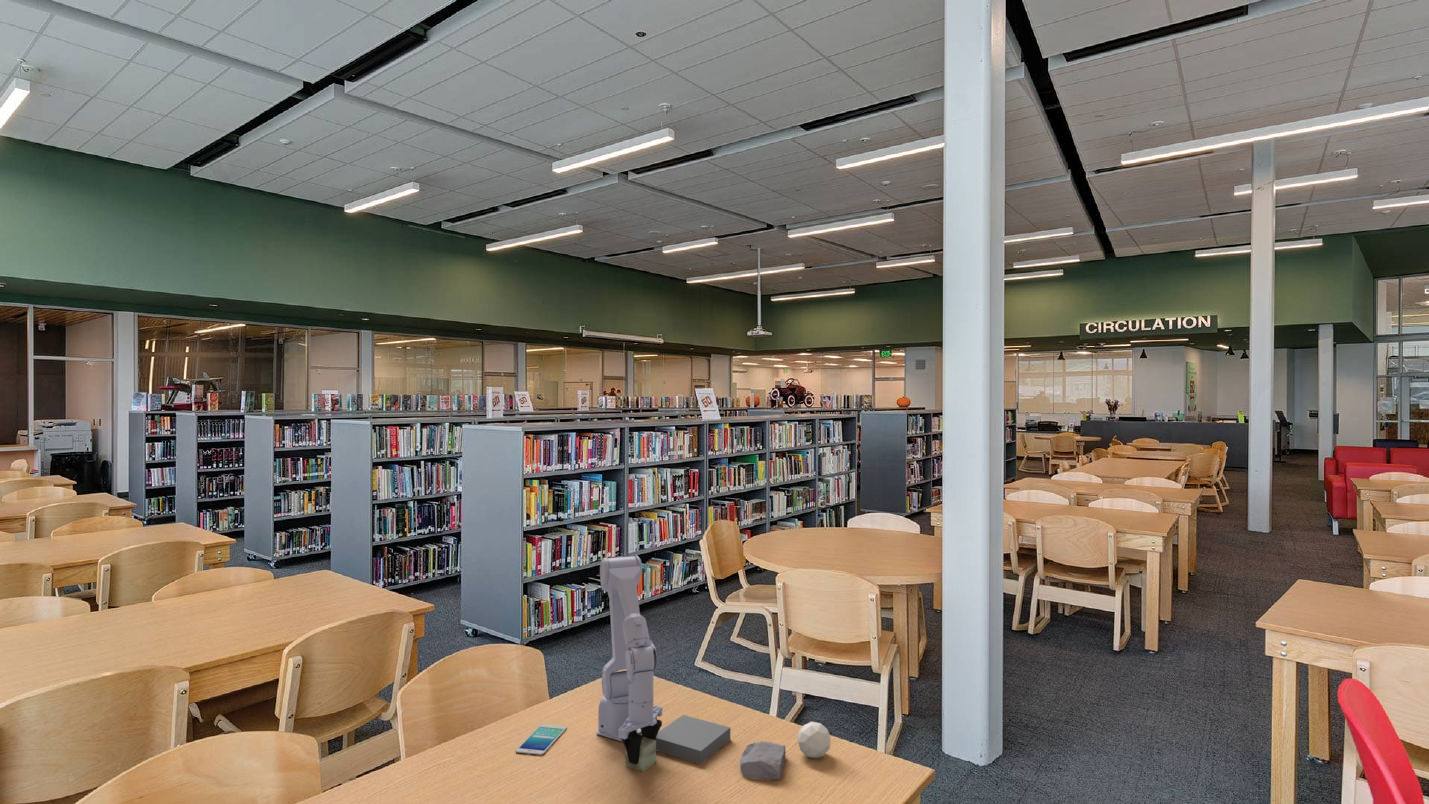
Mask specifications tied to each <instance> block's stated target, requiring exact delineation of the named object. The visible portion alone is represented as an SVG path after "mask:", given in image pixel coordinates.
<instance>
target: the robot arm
mask: <svg viewBox="0 0 1429 804" xmlns="http://www.w3.org/2000/svg"><path fill="white" fill-rule="evenodd" d="M642 565H643V563H642V559H641V558H640V557H639V556H638V555H632V556H631V555H630V556H620V557H609V558H607V557H603V558H602V560H600V565H599V575H600V587H601V591H603V592H606V593H607V595H608V599H609V601H608V602H609V615H610V616H609V617H610V618H609V619H610V630H611V631H610V632H611V633H610V636H611V646H612V647H611V649H612V651H611V652H612V658H611V659H610V660H609V661H608V662H607V663H606V664H605V665H604V666H603V668H602V672H601V673H602V678H601V691H602V694H603V695H602V698H601V699H600V701H599V704H598V717H597V718H598V727H597V728H598V730H597V731H596V732H595V733H596V734H597V735H599V736H603V737H606V738H608V739H612V740H616V741H619V742H622V744H623V746H624V748H625V752H626V751H627V755H628V759H629V763H632V764H635V765H636V764H638V761H639V752H640V746H641V742H642V739H643V737H646V738H649V739H653V740H656V737H657V734H658V732H659V731H660V729H661V727H662V726H663V721H662V720H660V719H658V718H657V717H659V718H660V717H662V716H663V706H659V705H654V672H655V671H656V670H657V668H658V655H657V649H656V646H655V645H654V641H653V640H651V639H650V634H649V629H648V624H647V620H646V617H644V616H643V615H641V612H640V605H639V595H638V586H639V584H640V581H641V578H642V575H643V566H642Z"/></svg>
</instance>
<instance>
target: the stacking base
mask: <svg viewBox="0 0 1429 804" xmlns="http://www.w3.org/2000/svg"><path fill="white" fill-rule="evenodd" d="M730 740H731V727H730V726H727V725H723V724H719V723H714V722H710V721H707V720H704V719H700V718H696V717H693V716H689V715H686V714H682V715H681V716H679V717H678V718H676V719H675V720H673V721H672V722H671V723H669V724H667V725H666V726H665V727H663V728H662V729H661V730H660V729H659V731H658V734H657V737H656V752H659V753H663V754H667V755H669V756H673V757H677V758H680V759H683V760H686V761H689V762H692V763H697V764H700V765H702V764H703V763H704V762H706V760H708V759H709V758H711V756H712V755H714V754H715V753H716V752H717V751H719V749H721V748H722V747H724V746H725V745H726V744H727V743H728V742H729V741H730Z"/></svg>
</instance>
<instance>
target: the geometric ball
mask: <svg viewBox="0 0 1429 804" xmlns="http://www.w3.org/2000/svg"><path fill="white" fill-rule="evenodd" d="M831 742H832V741H831V735H830V733H829V730H828V728H826V726H824V725H823V724H822V723H821V722H816V721H810V722H808V723H806V724H803V725H802V727H801V728H800V729H799V731H798V734H797V743H798V747H799V750H800V751H801V752H802V753H803V755H805V756H806V757H807V758H811V759H819V758H821V757H823V756H825V755H826V754H827V753H828V751H829V750H830V748H831Z"/></svg>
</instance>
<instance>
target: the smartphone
mask: <svg viewBox="0 0 1429 804" xmlns="http://www.w3.org/2000/svg"><path fill="white" fill-rule="evenodd" d="M566 730H568V726H565V725H556V724H555V725H554V724H545V723H542V724H540V725H539V726H537V727H536V729H535V730H534V731H532V733H531V734H530V735H529V736H528V737H527V738H526V739H525V740H524V741H523V742H522V743H521V744H520V745H518V746H517V748H515V752H516V753H515V754H517V753H518V755H519V754H520V755H526V754H531V755H530V756H536V755H543V756H545V755H546V753H547V752H548V751H549V750H550V749H551V748H552V747H553V745H554V744H555V743H556V742H557V741H558V740H559V738H561V736H562V735H563V734H564V733H565V732H566ZM564 731H565V732H564ZM563 732H564V733H563ZM561 734H562V735H561ZM558 737H559V738H558ZM556 740H557V741H556ZM555 741H556V742H555ZM554 742H555V743H554ZM553 743H554V744H553ZM552 744H553V745H552ZM551 746H552V747H551ZM550 747H551V748H550ZM549 748H550V749H549ZM548 749H549V750H548ZM546 751H547V752H546ZM545 752H546V753H545Z"/></svg>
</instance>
